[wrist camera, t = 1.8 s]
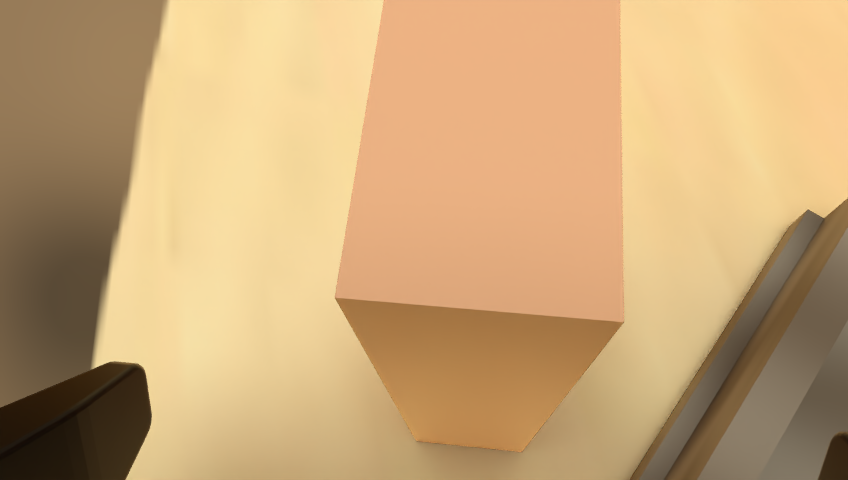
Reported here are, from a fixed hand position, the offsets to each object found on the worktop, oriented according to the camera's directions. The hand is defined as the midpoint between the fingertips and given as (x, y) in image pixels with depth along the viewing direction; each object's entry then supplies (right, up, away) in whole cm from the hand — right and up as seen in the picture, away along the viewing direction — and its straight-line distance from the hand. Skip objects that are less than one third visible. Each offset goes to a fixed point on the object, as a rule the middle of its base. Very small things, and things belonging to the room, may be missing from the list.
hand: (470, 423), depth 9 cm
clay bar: (+1, -1, +11) cm, 11 cm away
